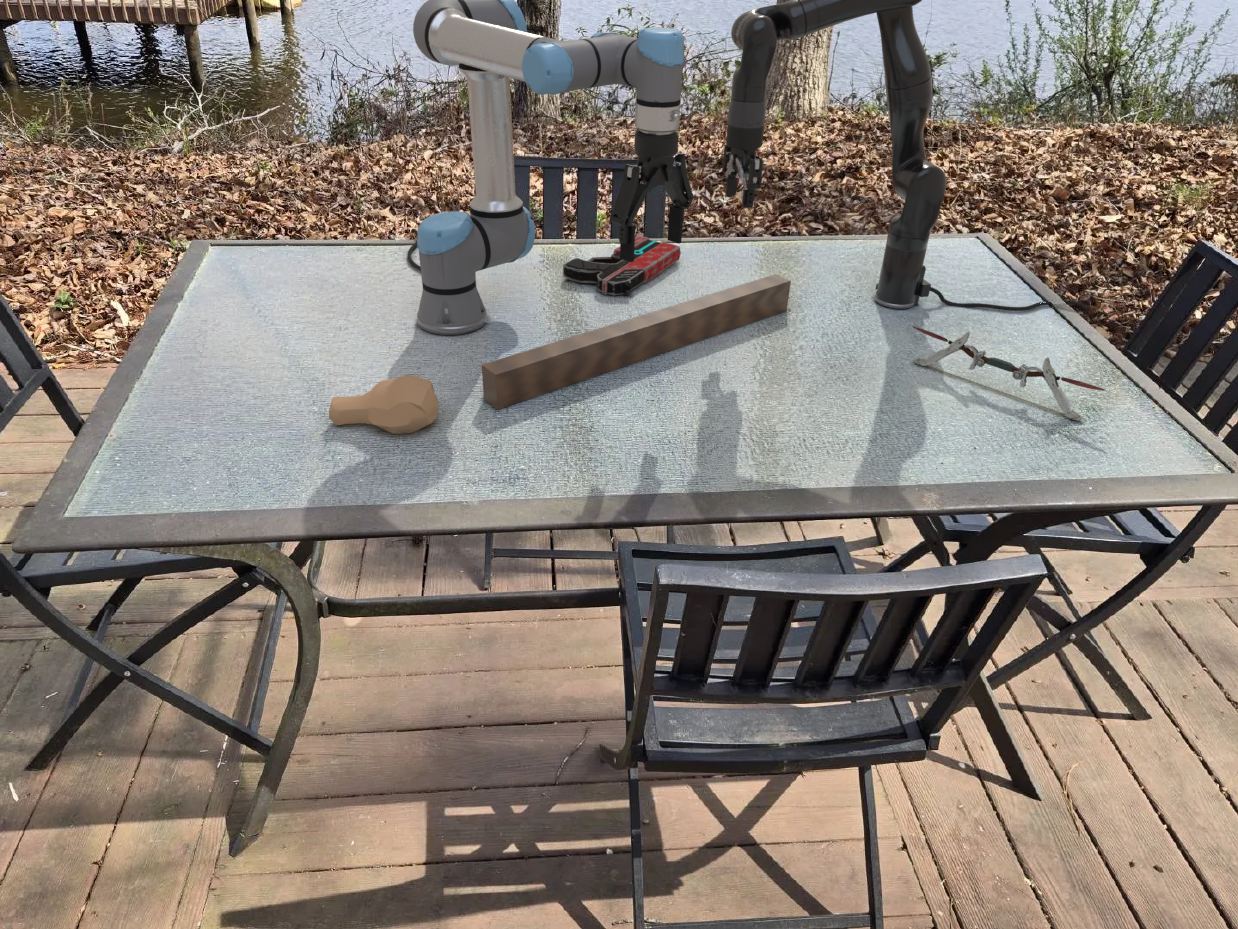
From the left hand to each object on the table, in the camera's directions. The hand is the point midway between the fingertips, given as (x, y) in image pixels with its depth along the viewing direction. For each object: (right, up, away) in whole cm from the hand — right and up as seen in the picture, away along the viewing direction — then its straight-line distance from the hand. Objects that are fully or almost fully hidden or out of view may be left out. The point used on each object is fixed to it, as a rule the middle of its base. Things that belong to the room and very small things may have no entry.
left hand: (651, 250), depth 161 cm
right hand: (+20, +17, +27) cm, 38 cm away
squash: (-48, -32, -1) cm, 58 cm away
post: (+1, -15, +27) cm, 30 cm away
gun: (-5, +10, +63) cm, 64 cm away
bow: (+69, -24, +15) cm, 75 cm away
